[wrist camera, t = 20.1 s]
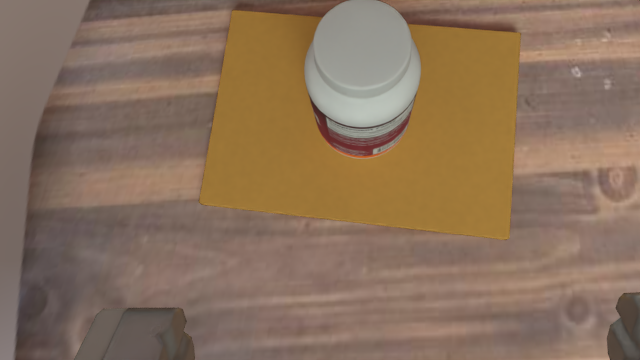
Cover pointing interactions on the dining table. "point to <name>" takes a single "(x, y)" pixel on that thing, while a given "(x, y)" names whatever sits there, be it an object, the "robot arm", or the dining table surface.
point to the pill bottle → (362, 77)
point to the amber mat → (373, 173)
